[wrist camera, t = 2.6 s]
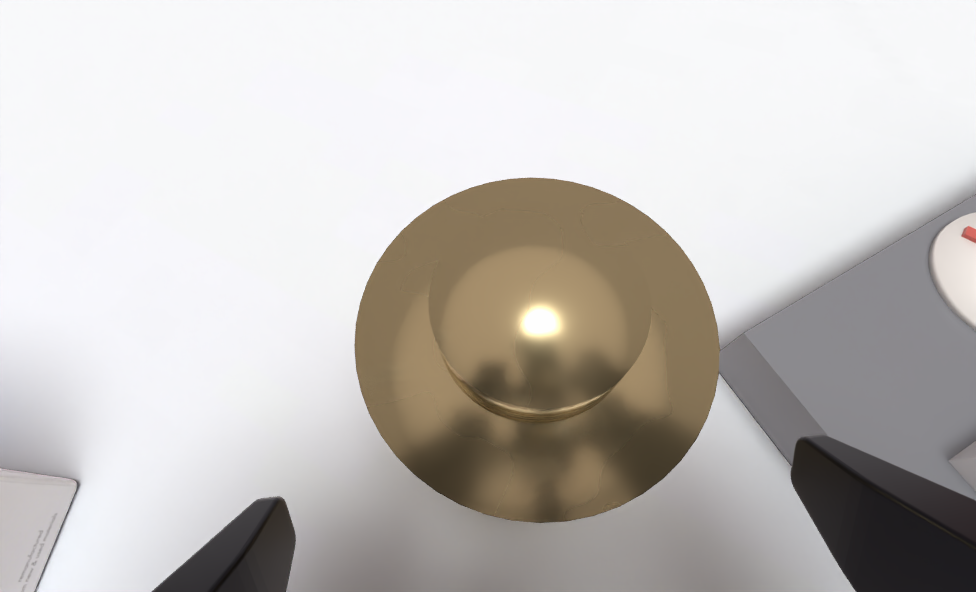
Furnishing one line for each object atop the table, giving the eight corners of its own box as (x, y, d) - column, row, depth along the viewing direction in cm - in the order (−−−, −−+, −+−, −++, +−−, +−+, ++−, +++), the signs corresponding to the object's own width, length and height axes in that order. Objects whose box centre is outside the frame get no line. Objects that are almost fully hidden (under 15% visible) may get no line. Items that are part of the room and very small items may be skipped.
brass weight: (488, 550, 17) (450, 629, 5) (420, 414, 19) (274, 232, 7) (616, 470, 18) (847, 372, 6) (539, 348, 20) (594, 86, 8)
